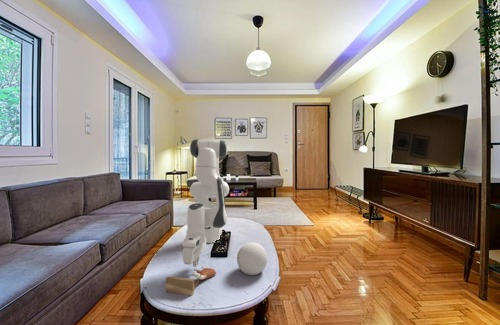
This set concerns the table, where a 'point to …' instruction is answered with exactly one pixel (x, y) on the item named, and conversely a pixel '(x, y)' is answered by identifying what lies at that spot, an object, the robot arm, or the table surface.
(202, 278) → the bull figurine
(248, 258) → the decorative object
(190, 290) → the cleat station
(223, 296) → the table surface
